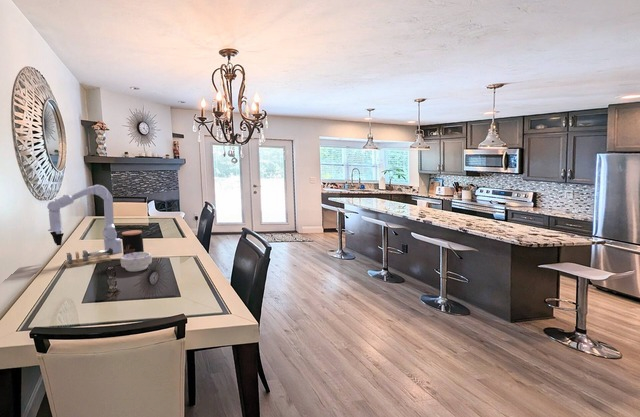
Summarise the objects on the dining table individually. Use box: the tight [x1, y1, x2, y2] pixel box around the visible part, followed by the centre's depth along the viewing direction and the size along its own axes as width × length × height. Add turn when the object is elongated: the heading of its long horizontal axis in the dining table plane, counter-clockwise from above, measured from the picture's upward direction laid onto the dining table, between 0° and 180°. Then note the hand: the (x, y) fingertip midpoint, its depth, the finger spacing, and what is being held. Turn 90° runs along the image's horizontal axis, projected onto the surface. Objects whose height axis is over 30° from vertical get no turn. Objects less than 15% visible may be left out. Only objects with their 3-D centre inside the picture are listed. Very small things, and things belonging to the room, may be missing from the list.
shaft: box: [81, 248, 113, 258], centre depth 233 cm, size 16×4×4 cm, turn 130°
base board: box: [63, 254, 112, 269], centre depth 230 cm, size 22×12×2 cm, turn 130°
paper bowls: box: [119, 251, 153, 273], centre depth 214 cm, size 15×15×8 cm
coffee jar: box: [121, 229, 145, 256], centre depth 227 cm, size 11×11×18 cm
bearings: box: [66, 250, 89, 264], centre depth 227 cm, size 10×6×5 cm, turn 130°
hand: (58, 244), depth 234 cm, fingers open, 7 cm apart
